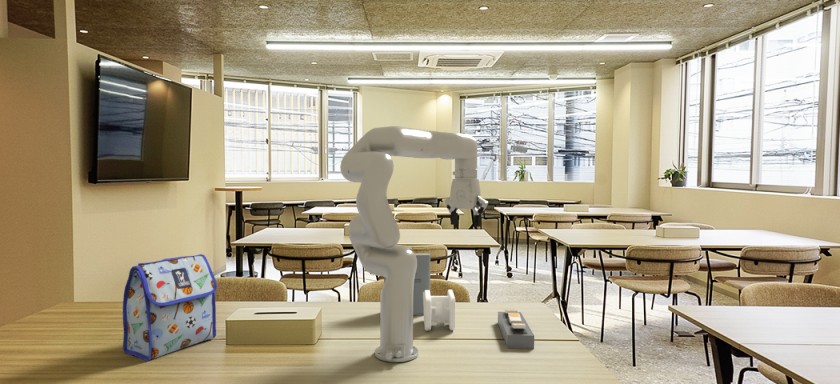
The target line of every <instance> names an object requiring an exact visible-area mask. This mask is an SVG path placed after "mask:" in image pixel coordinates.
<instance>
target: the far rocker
mask: <svg viewBox="0 0 840 384" xmlns="http://www.w3.org/2000/svg"><path fill="white" fill-rule="evenodd" d="M504 312H506V313H518V312H519V311H518V310H517V309H515V308H505V309H504Z"/></svg>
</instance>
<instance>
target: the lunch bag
mask: <svg viewBox="0 0 840 384" xmlns="http://www.w3.org/2000/svg"><path fill="white" fill-rule="evenodd" d="M129 269H130V270H129V273H128V278H127V280H126V283H125V286H124V291H123V298H122V299H123V300H122V326H123V337H122V338H123V339H122V350H123V353H125V354H128V355H132V356H135V357H137V358H139V359H141V360H144V361H145V362H149V361H151V360H153V359H157V358H159V357H162V356H165V355H168V354H170V353H173V352H176V351H178V350H181V349H185V348H188V347H190V346H192V345H193V346H194V345H196V344H199V343H202V342H206V341H207V340H210V339H215V338H216V336H217V313H216V311H217V308H216V306H217V305H216V291H217V289H218V284H217V280H216V278H215V274H214V273H213V270H212V268H211V265H210V263H209V261H208V259H207V257H206V256H205V254H201V253H200V254H196V255H184V256H178V257H169V258H163V259H161V260H156V261H150V262H140V263H137V265H133V266H132V267H131V268H129Z"/></svg>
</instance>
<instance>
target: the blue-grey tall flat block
mask: <svg viewBox="0 0 840 384" xmlns="http://www.w3.org/2000/svg"><path fill="white" fill-rule="evenodd" d="M405 247H406V248H408V249H410V250H412V249H413V248H412V247H409V246H405ZM412 251H413V250H412ZM414 254H415V255H416V258H417V269H416V274H415V279H414V289H413V316H424V306H423V292H424V291H425V290H430V291H431V253H425V252H424V253H422V252H421V253H415V252H414ZM385 281H386V277H383V284H384V283H385Z"/></svg>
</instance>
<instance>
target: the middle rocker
mask: <svg viewBox="0 0 840 384" xmlns="http://www.w3.org/2000/svg"><path fill="white" fill-rule="evenodd" d="M508 317H509V321H510V323H521V322H522V321H521V317H520V314H519V313H508Z"/></svg>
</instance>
